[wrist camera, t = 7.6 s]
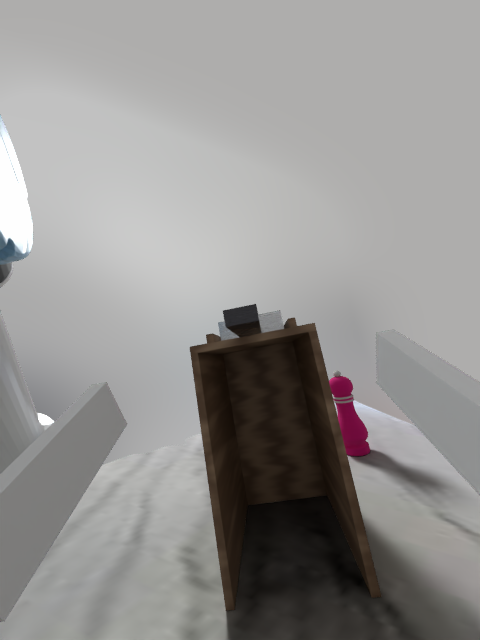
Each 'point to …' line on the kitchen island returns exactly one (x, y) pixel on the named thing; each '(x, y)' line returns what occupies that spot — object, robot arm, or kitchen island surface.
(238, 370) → the stand
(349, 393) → the pepper mill
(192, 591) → the kitchen island surface
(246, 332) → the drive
